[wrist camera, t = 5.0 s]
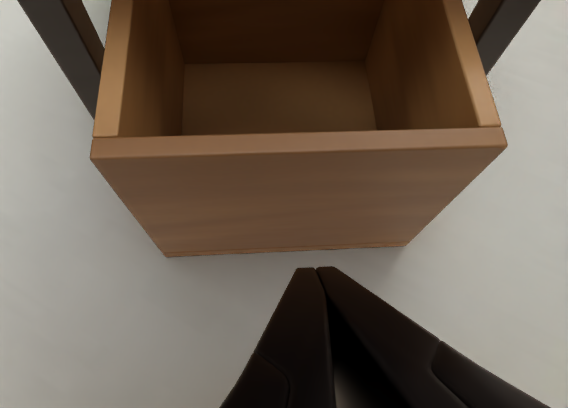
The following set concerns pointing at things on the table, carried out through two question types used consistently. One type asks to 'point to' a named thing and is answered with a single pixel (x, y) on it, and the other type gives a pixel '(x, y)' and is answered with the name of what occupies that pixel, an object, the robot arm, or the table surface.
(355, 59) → the wood grain slab box
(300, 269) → the robot arm
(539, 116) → the table surface
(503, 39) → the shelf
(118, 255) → the table surface
